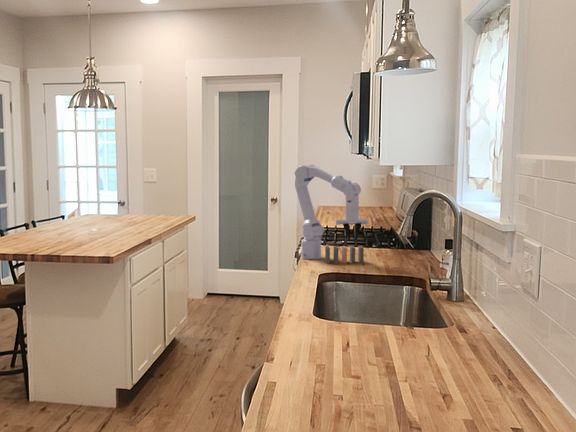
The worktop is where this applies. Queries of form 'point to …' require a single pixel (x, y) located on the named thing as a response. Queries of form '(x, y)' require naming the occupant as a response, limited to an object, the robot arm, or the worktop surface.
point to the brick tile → (344, 254)
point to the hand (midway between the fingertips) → (352, 240)
